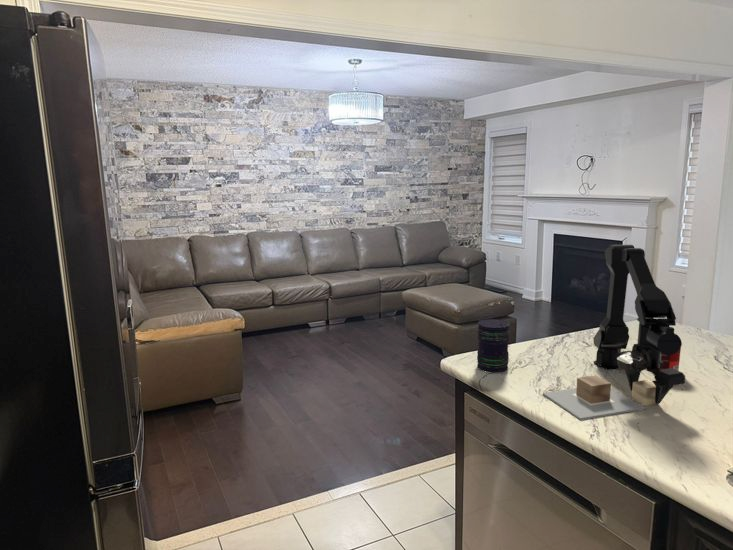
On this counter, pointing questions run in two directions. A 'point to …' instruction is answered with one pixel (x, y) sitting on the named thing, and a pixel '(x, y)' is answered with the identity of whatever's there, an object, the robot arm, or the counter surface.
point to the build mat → (588, 410)
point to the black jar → (493, 345)
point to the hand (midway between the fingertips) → (644, 397)
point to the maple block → (644, 392)
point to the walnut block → (593, 389)
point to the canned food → (671, 361)
